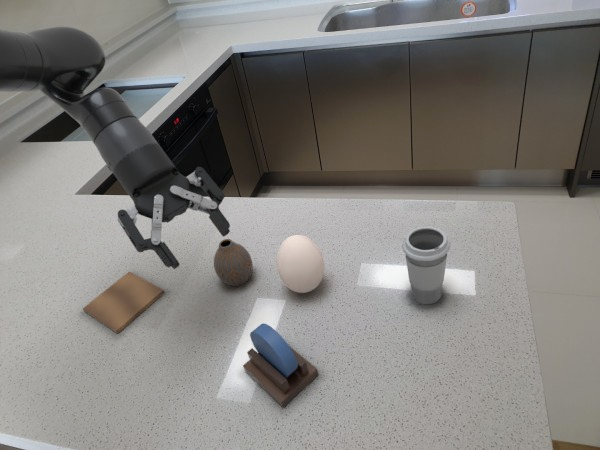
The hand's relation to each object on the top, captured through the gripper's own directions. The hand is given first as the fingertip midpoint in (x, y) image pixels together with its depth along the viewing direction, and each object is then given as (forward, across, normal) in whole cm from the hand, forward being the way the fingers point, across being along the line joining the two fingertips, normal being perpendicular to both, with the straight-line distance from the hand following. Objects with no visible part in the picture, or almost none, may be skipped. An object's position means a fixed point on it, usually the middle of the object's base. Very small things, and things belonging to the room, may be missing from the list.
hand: (202, 249), depth 65 cm
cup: (+26, +26, 0) cm, 37 cm away
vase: (+6, +8, +20) cm, 23 cm away
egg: (+14, +14, +12) cm, 24 cm away
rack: (+21, 0, +5) cm, 22 cm away
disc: (+17, 0, +1) cm, 17 cm away
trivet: (-3, -10, +30) cm, 31 cm away
